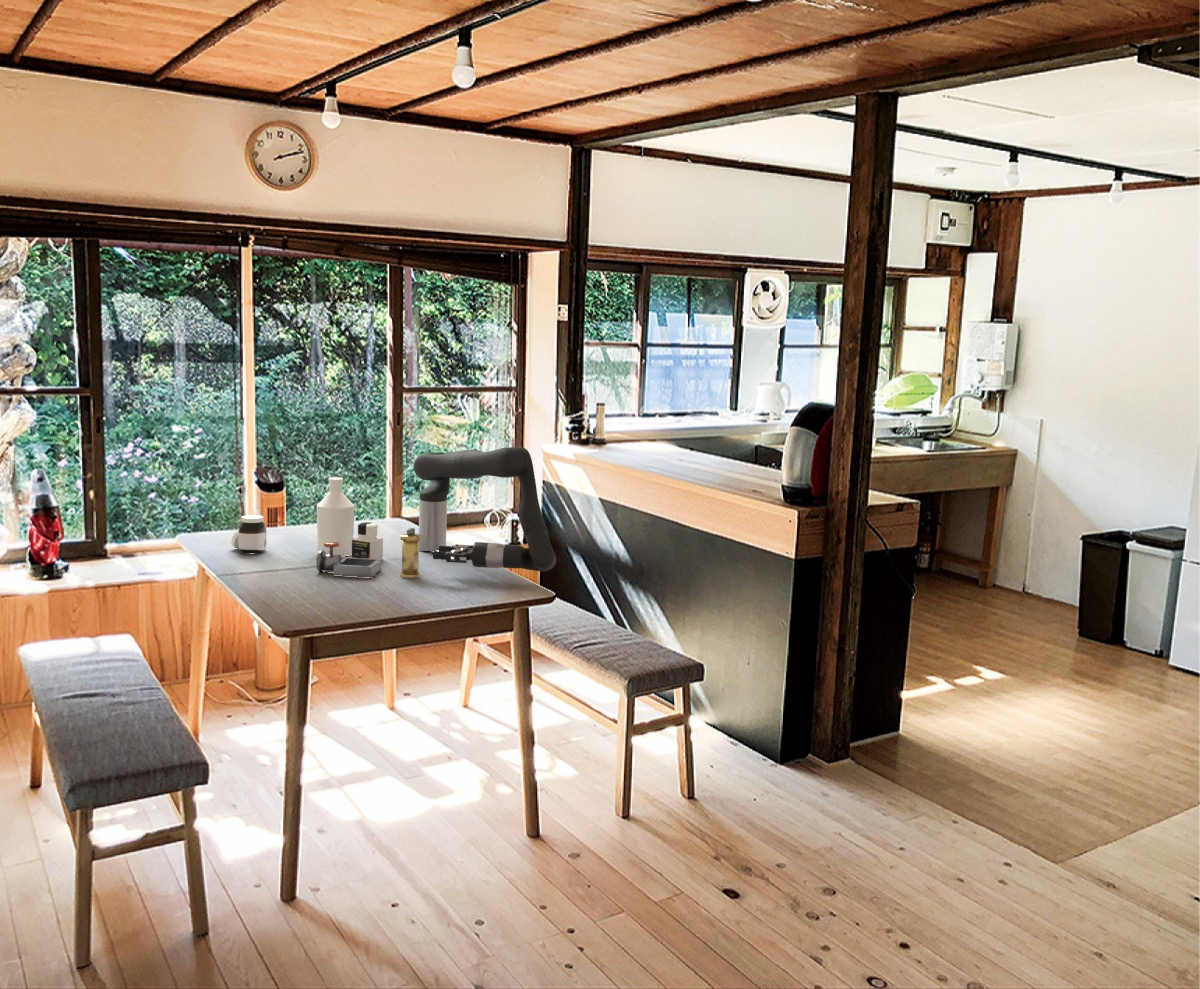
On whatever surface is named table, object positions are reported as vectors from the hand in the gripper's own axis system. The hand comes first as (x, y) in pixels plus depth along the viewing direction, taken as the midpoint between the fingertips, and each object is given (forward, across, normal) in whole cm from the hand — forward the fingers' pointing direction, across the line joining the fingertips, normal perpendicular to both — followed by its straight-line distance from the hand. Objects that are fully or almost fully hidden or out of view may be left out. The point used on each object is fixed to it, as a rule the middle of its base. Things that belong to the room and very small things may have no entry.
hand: (436, 552), depth 320 cm
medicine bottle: (+26, -19, +8) cm, 33 cm away
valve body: (+8, 0, +8) cm, 11 cm away
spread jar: (+66, -22, +8) cm, 70 cm away
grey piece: (+27, 0, +8) cm, 28 cm away
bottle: (+38, -25, +8) cm, 46 cm away
